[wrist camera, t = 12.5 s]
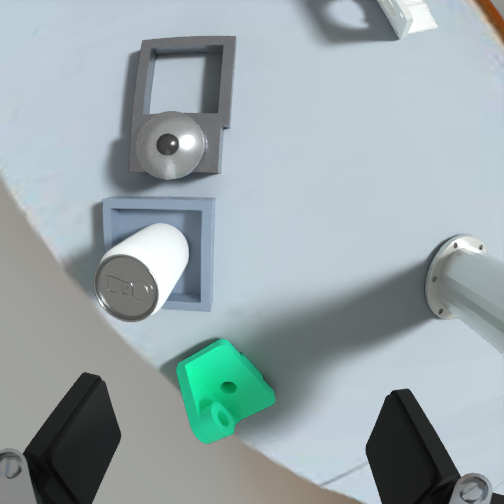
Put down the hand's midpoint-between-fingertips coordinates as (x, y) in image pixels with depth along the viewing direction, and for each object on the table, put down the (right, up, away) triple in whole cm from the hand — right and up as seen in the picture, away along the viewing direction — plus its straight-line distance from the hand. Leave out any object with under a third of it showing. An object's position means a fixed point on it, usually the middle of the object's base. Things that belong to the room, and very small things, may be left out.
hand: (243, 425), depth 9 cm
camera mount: (-3, -11, +31) cm, 33 cm away
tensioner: (-7, +21, +21) cm, 31 cm away
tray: (-10, +6, +25) cm, 28 cm away
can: (-10, +6, +25) cm, 27 cm away
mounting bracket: (+18, +38, +18) cm, 46 cm away
